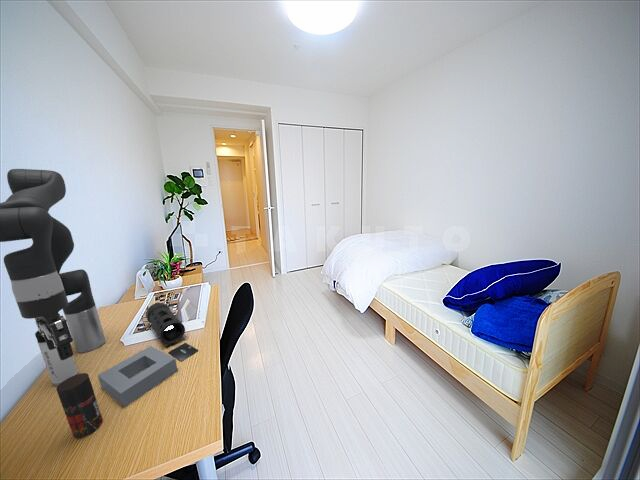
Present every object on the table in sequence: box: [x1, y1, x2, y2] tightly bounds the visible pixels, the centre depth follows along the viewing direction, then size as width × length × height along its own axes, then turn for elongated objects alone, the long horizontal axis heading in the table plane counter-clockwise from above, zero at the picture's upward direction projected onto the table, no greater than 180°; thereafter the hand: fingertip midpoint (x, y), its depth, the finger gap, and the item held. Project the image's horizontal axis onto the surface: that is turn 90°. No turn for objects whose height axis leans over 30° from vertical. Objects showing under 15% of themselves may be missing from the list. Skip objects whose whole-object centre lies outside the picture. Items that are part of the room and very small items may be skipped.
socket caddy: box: [97, 345, 179, 408], centre depth 81 cm, size 16×16×5 cm
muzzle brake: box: [145, 302, 186, 345], centre depth 108 cm, size 10×28×10 cm, turn 46°
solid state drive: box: [167, 342, 199, 363], centre depth 94 cm, size 7×10×1 cm
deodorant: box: [55, 372, 104, 440], centre depth 64 cm, size 6×6×15 cm
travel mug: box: [34, 330, 79, 387], centre depth 81 cm, size 6×7×20 cm
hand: (61, 352), depth 60 cm, fingers open, 8 cm apart
